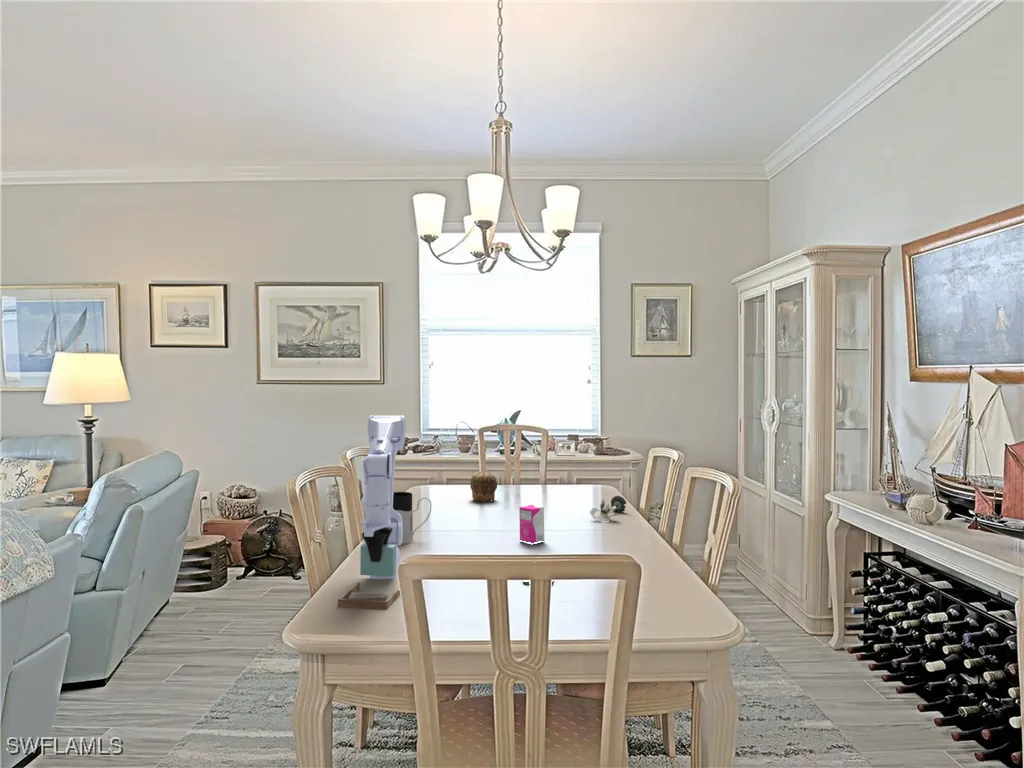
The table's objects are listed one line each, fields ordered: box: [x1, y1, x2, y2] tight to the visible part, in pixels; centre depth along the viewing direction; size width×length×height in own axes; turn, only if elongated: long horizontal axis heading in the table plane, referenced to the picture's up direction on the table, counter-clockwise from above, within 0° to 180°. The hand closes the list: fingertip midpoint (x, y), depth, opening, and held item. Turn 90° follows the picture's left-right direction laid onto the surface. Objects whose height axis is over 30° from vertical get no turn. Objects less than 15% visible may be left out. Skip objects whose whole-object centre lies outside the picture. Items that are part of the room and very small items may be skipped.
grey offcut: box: [349, 591, 387, 601], centre depth 177 cm, size 4×8×2 cm, turn 91°
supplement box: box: [519, 504, 545, 543], centre depth 243 cm, size 6×6×12 cm
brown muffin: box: [469, 471, 498, 502], centre depth 314 cm, size 11×11×12 cm
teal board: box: [359, 543, 396, 577], centre depth 185 cm, size 2×8×7 cm, turn 83°
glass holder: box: [393, 491, 432, 545], centre depth 244 cm, size 9×14×15 cm, turn 95°
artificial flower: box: [589, 495, 627, 523], centre depth 283 cm, size 9×22×10 cm, turn 148°
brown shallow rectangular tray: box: [337, 581, 401, 610], centre depth 180 cm, size 14×12×3 cm
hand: (377, 559), depth 185 cm, fingers closed on teal board, 2 cm apart
